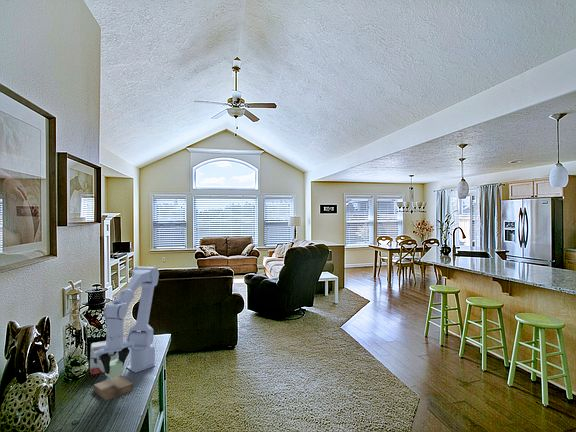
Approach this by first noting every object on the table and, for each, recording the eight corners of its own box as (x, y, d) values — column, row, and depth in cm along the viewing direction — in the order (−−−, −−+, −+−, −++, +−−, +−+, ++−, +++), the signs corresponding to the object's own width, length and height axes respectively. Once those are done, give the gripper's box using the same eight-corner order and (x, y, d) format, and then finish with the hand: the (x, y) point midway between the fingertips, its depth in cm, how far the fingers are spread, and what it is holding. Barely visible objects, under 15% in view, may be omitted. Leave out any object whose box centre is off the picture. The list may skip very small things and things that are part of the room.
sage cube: (117, 370, 131) (117, 358, 131) (122, 374, 128) (122, 362, 128) (105, 374, 128) (105, 362, 128) (110, 378, 125) (110, 366, 125)
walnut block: (120, 382, 135) (120, 375, 135) (132, 391, 129) (133, 383, 129) (93, 392, 127) (94, 384, 127) (105, 402, 121) (105, 393, 121)
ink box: (90, 375, 139) (91, 347, 139) (89, 370, 143) (90, 343, 143) (113, 370, 144) (114, 343, 144) (112, 366, 148) (112, 339, 148)
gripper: (99, 343, 120) (98, 381, 120) (138, 332, 131) (137, 367, 131) (90, 338, 124) (90, 374, 124) (129, 328, 136) (128, 361, 136)
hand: (113, 370), depth 128 cm, fingers closed on sage cube, 4 cm apart
